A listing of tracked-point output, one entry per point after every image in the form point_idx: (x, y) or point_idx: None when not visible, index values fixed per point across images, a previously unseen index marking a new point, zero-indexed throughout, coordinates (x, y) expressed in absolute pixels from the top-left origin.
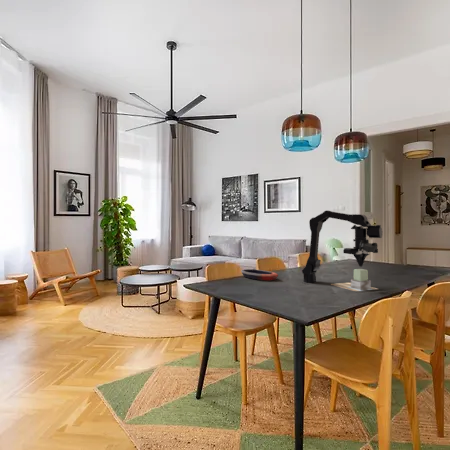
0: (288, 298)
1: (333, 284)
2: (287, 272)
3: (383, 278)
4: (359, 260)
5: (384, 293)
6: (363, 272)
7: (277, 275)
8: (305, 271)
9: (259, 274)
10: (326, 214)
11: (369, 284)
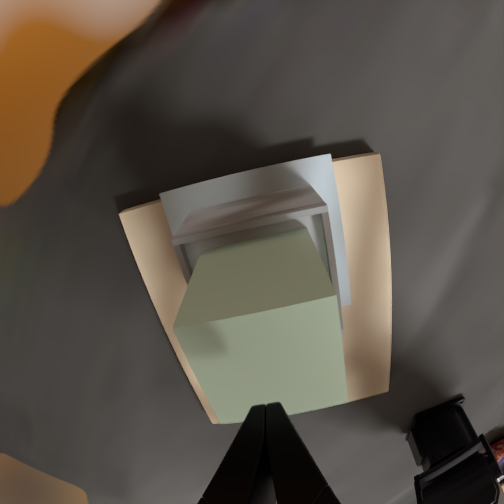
0: None
1: (376, 383)
2: None
3: (34, 441)
4: (334, 497)
5: (130, 109)
6: (265, 290)
7: (502, 451)
8: (491, 449)
9: None
10: None
11: (197, 219)
